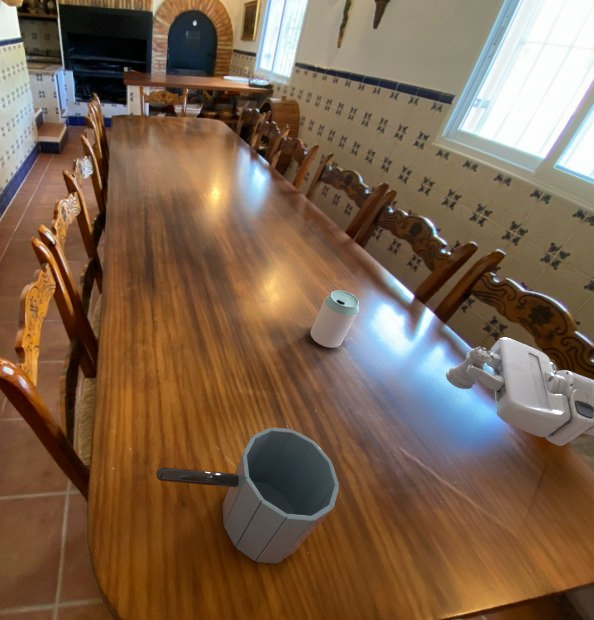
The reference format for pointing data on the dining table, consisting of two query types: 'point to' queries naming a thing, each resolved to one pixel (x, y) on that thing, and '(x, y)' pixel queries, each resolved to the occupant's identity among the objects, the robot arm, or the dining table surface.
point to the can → (335, 318)
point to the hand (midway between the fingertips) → (468, 361)
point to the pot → (271, 493)
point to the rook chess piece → (459, 373)
